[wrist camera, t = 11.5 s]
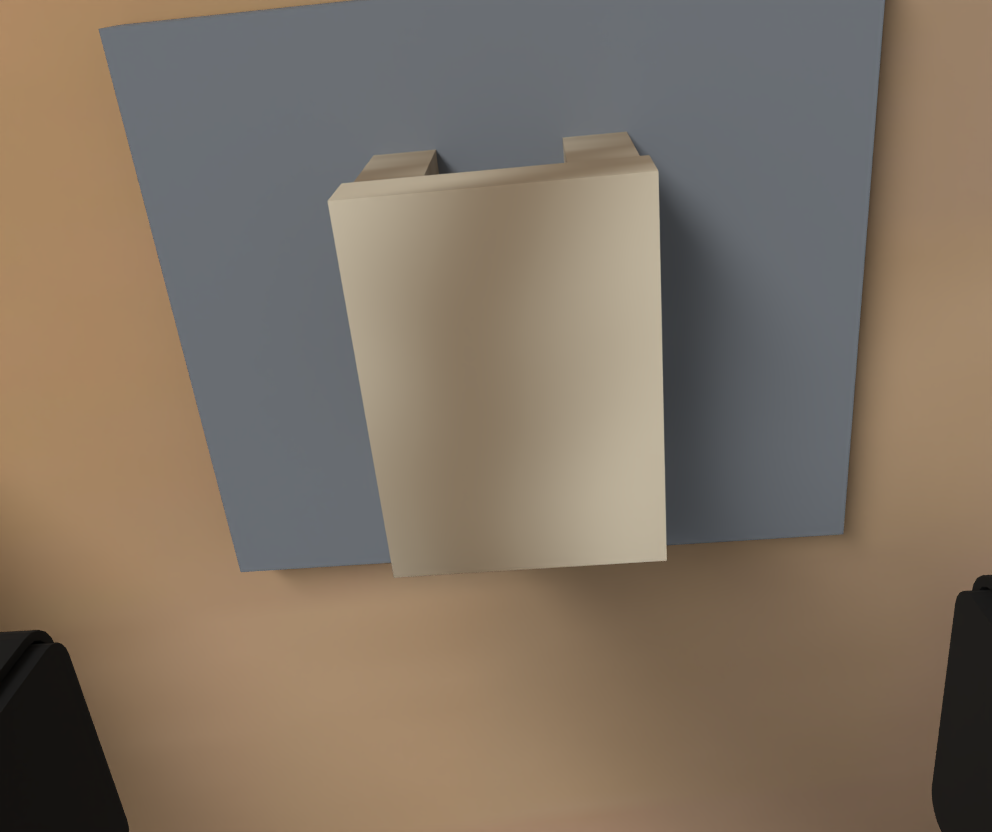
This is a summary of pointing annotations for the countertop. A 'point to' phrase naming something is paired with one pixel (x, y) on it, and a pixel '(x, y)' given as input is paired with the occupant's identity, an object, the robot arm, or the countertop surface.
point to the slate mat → (507, 144)
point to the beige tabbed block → (510, 356)
